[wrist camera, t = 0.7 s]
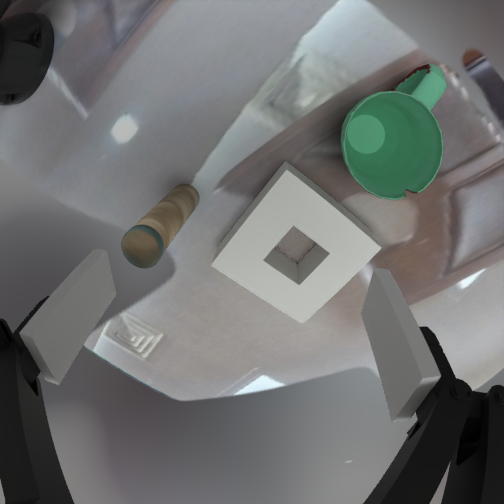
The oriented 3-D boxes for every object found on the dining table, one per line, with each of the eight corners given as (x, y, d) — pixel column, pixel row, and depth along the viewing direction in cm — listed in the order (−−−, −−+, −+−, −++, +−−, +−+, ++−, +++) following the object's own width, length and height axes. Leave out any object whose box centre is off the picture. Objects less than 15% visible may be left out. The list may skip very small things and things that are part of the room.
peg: (166, 201, 37) (115, 252, 25) (180, 177, 36) (131, 220, 23) (189, 217, 38) (149, 275, 25) (205, 194, 36) (167, 246, 24)
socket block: (218, 246, 39) (210, 265, 35) (285, 160, 34) (286, 169, 29) (300, 300, 42) (302, 323, 38) (370, 230, 37) (381, 248, 32)
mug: (374, 189, 34) (403, 220, 25) (308, 143, 32) (320, 158, 24) (435, 99, 28) (482, 103, 19) (373, 47, 26) (407, 30, 17)
